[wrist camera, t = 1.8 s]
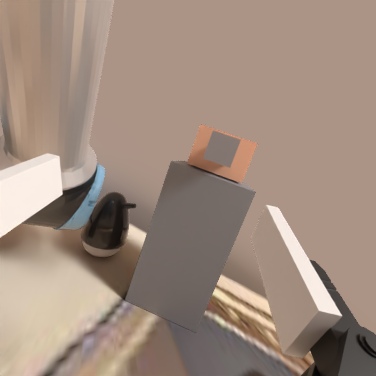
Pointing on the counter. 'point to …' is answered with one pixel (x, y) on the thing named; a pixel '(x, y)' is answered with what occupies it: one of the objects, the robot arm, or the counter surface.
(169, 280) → the grey tall block
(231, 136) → the orange and grey block
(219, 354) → the counter surface
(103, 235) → the pump dispenser
